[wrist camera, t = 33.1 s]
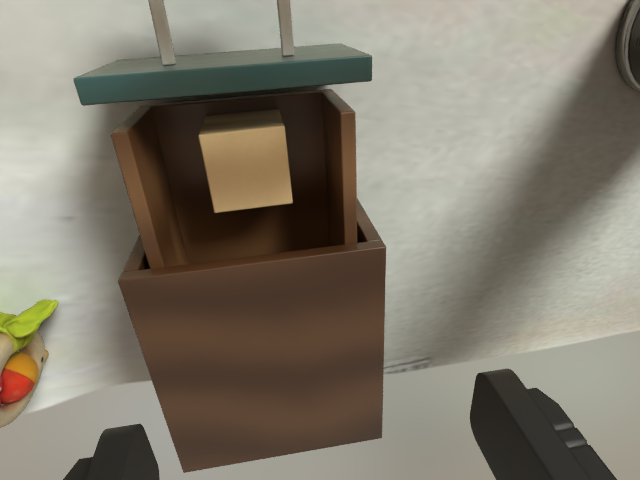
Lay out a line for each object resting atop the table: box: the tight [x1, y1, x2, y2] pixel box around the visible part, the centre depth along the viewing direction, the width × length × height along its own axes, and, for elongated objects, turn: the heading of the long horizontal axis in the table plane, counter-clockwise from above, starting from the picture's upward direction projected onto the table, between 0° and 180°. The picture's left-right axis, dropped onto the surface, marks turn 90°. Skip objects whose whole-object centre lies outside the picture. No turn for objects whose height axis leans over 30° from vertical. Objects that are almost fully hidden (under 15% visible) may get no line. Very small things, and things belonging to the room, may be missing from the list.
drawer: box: [74, 0, 372, 269], centre depth 25 cm, size 22×14×8 cm, turn 3°
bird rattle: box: [0, 300, 58, 427], centre depth 30 cm, size 6×11×9 cm
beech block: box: [198, 109, 293, 213], centre depth 26 cm, size 5×5×5 cm
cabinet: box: [118, 199, 386, 473], centre depth 32 cm, size 17×15×9 cm
